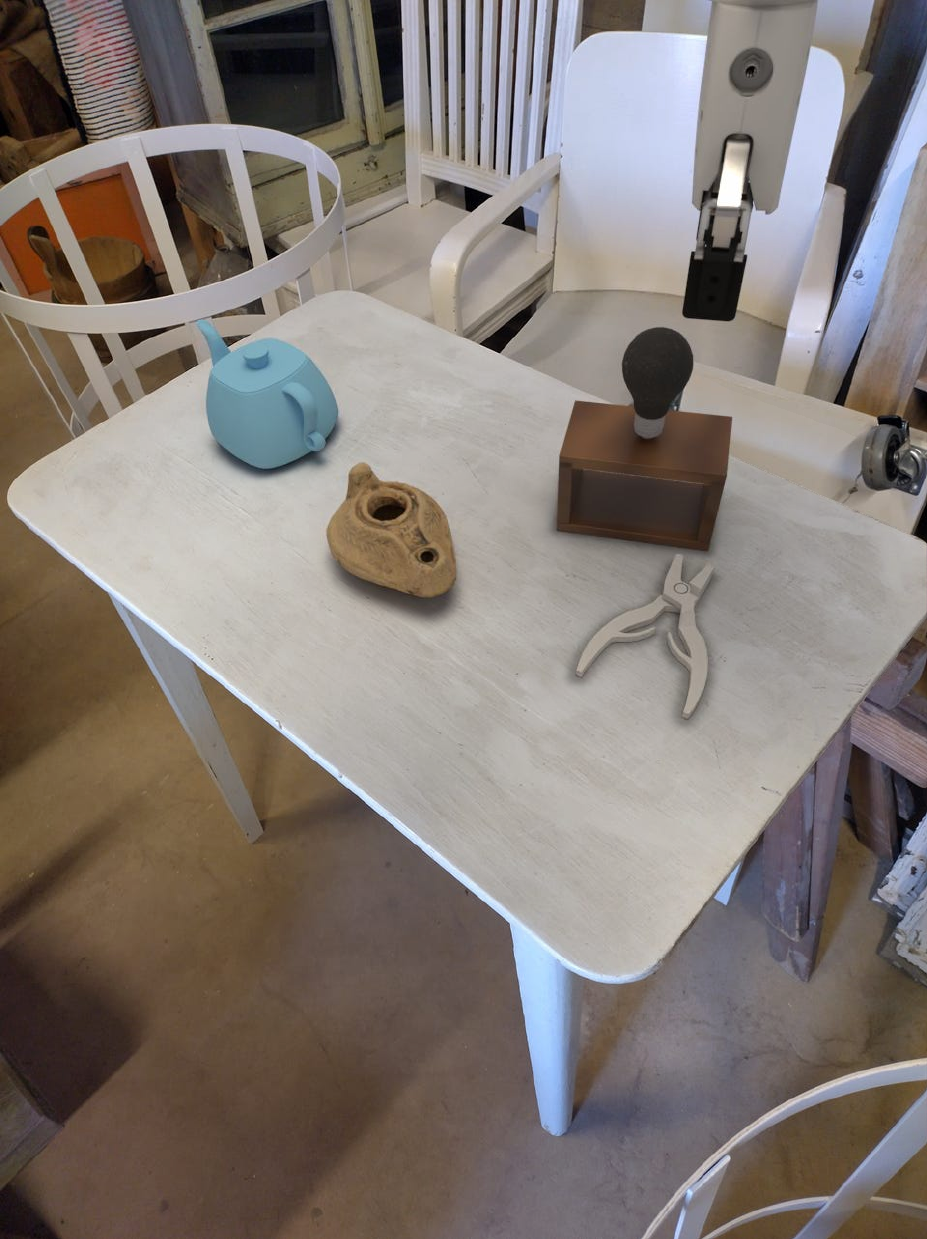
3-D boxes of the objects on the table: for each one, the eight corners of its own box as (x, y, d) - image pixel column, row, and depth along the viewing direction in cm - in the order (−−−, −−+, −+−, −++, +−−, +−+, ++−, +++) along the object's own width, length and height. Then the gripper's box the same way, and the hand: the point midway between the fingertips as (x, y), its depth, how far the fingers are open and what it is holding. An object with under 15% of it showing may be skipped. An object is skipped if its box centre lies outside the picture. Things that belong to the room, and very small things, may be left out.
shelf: (714, 493, 79) (732, 416, 72) (708, 551, 74) (727, 475, 67) (570, 475, 82) (575, 400, 75) (556, 530, 77) (559, 455, 70)
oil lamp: (416, 641, 70) (405, 578, 63) (307, 557, 77) (288, 493, 71) (503, 570, 74) (501, 505, 68) (393, 497, 81) (382, 432, 75)
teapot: (243, 290, 88) (354, 348, 79) (267, 376, 96) (371, 436, 88) (144, 342, 82) (252, 410, 74) (179, 428, 91) (280, 498, 82)
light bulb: (643, 408, 73) (657, 305, 66) (693, 435, 71) (714, 331, 63) (601, 436, 71) (610, 333, 64) (651, 465, 68) (666, 361, 61)
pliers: (574, 662, 65) (642, 541, 73) (573, 674, 66) (640, 553, 74) (693, 709, 62) (751, 577, 70) (690, 720, 63) (747, 589, 71)
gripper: (856, 0, 35) (768, 356, 48) (847, -92, 45) (777, 221, 58) (676, 1, 36) (639, 345, 49) (708, -88, 47) (670, 216, 60)
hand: (713, 278), depth 54 cm, fingers open, 9 cm apart
